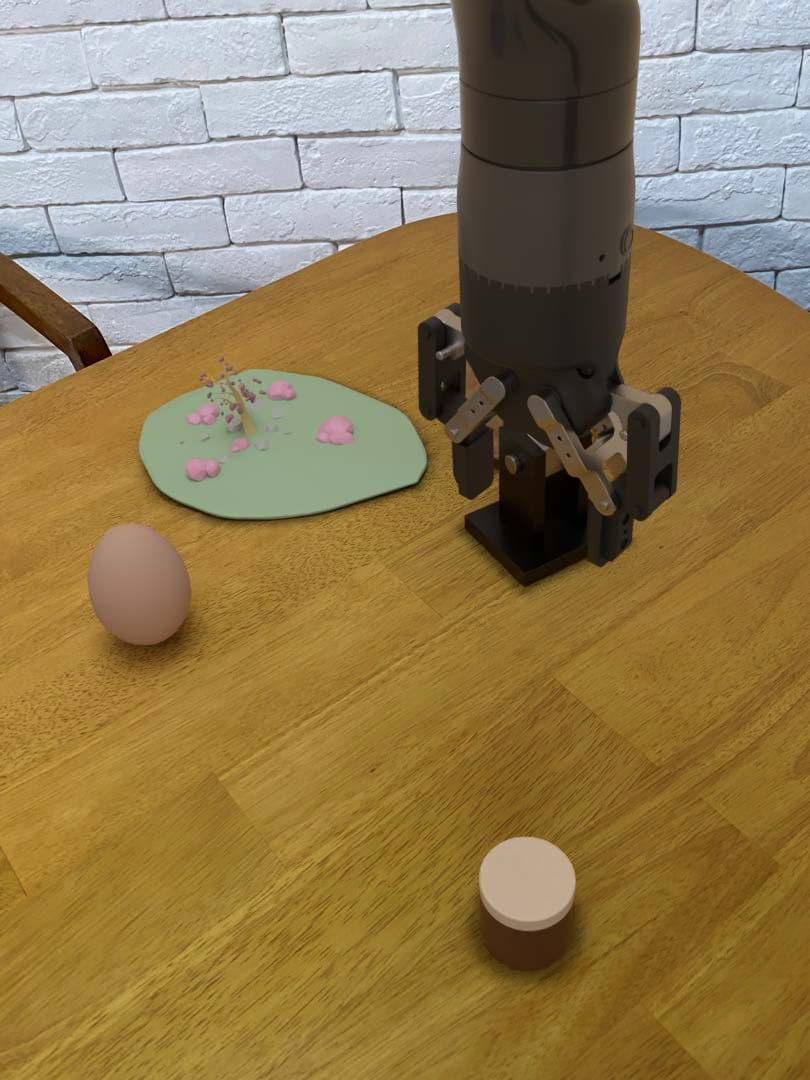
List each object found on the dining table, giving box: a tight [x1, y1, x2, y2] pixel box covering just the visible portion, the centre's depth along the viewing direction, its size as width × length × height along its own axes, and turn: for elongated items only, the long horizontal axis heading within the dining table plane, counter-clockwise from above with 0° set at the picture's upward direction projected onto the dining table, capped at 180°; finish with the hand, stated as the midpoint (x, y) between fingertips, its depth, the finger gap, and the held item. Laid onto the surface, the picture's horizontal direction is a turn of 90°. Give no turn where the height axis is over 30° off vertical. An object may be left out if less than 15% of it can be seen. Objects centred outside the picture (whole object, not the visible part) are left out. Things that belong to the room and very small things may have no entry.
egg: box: [86, 522, 192, 646], centre depth 77 cm, size 7×7×10 cm
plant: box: [138, 356, 428, 520], centre depth 94 cm, size 25×21×9 cm
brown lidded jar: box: [478, 836, 577, 971], centre depth 60 cm, size 5×5×5 cm
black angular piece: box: [463, 426, 594, 588], centre depth 83 cm, size 8×9×10 cm
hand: (538, 522), depth 60 cm, fingers open, 8 cm apart
